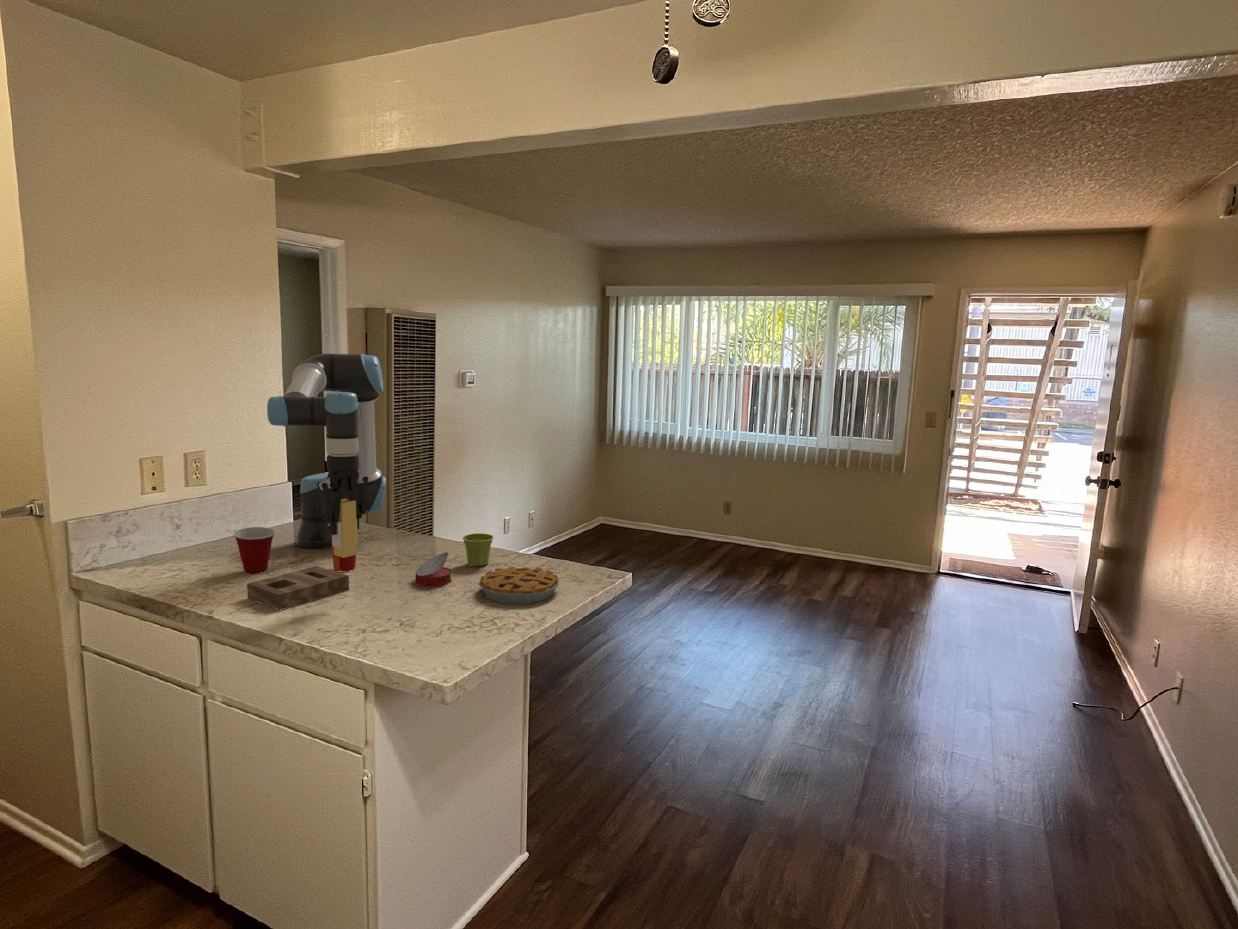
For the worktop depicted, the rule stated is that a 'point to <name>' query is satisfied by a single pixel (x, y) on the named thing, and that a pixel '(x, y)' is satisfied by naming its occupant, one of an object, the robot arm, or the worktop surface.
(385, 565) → the worktop surface
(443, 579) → the canned food
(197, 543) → the worktop surface
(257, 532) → the plastic cup
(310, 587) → the socket block
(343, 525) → the square peg
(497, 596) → the pie
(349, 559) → the coffee cup
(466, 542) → the plant pot
